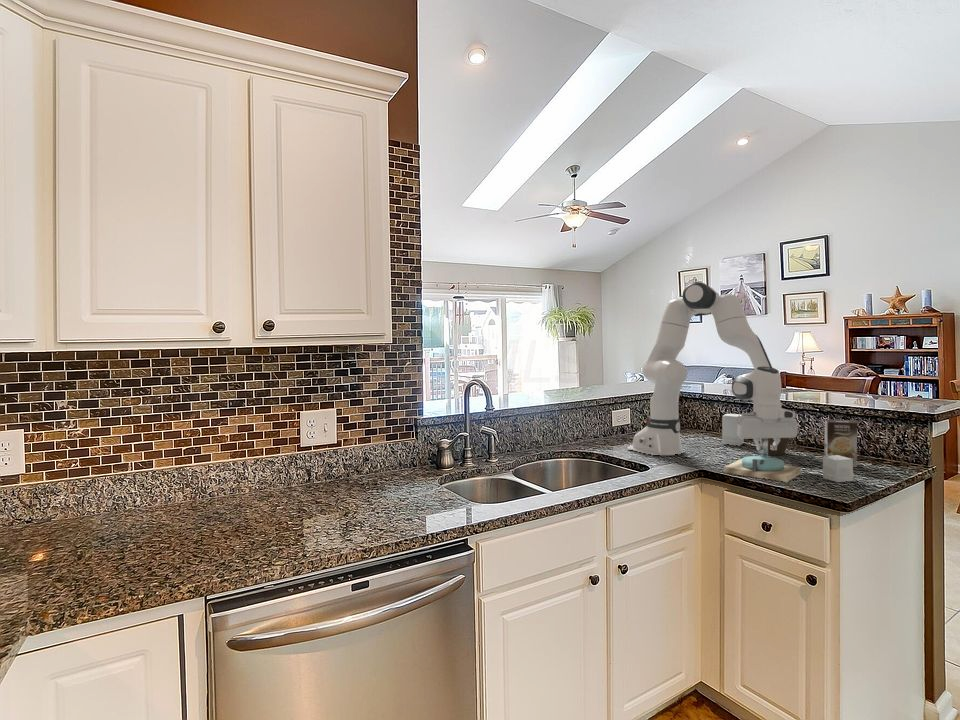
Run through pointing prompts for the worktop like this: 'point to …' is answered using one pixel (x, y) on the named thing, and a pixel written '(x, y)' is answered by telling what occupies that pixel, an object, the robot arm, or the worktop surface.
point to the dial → (763, 460)
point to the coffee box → (841, 439)
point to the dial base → (778, 475)
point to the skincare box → (838, 468)
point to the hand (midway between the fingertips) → (766, 450)
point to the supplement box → (730, 430)
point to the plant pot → (780, 447)
